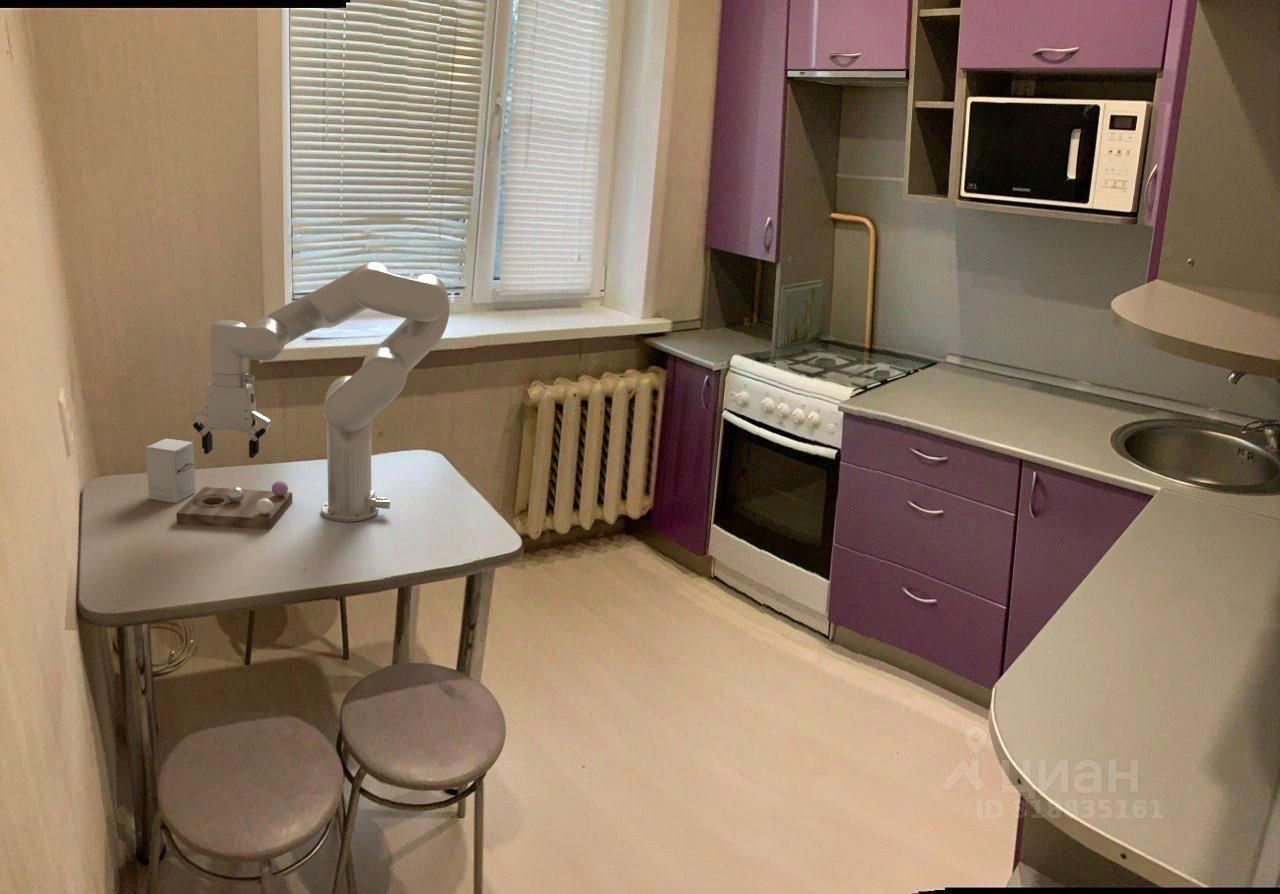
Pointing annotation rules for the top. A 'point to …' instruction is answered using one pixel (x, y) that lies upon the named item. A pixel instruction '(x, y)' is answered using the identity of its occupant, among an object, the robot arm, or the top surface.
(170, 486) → the supplement box
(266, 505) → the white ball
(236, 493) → the steel ball
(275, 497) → the board
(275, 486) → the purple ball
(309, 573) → the top surface
